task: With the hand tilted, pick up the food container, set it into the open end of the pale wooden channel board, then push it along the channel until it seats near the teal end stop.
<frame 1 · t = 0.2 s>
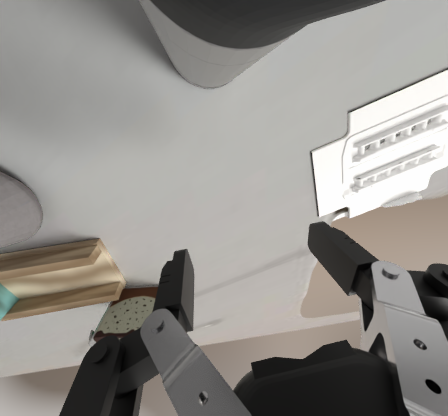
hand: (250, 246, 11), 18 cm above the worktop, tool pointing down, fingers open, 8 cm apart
channel board: (58, 271, 32), on the worktop
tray: (388, 154, 30), on the worktop
food container: (144, 294, 39), on the worktop
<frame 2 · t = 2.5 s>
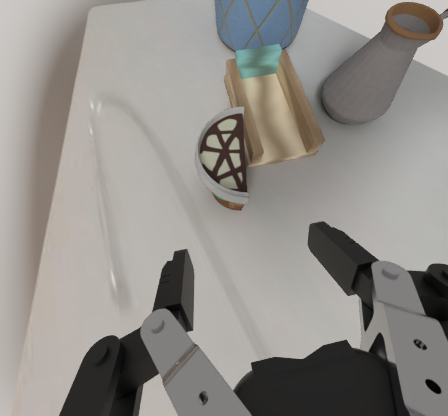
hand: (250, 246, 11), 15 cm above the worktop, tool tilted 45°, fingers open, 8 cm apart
channel board: (266, 115, 33), on the worktop
planter: (256, 33, 40), on the worktop
food container: (221, 184, 29), on the worktop
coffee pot: (364, 98, 34), on the worktop
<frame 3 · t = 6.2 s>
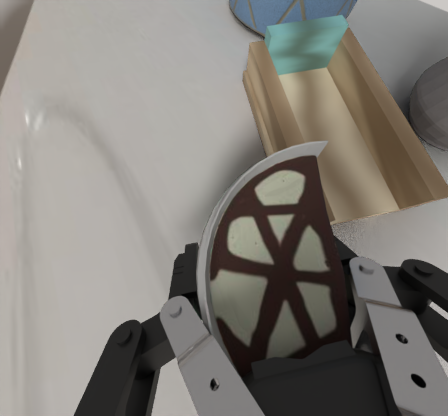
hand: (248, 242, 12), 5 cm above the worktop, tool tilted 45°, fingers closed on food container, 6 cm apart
channel board: (314, 136, 20), on the worktop
planter: (286, 9, 27), on the worktop
food container: (244, 265, 16), on the worktop, touching gripper
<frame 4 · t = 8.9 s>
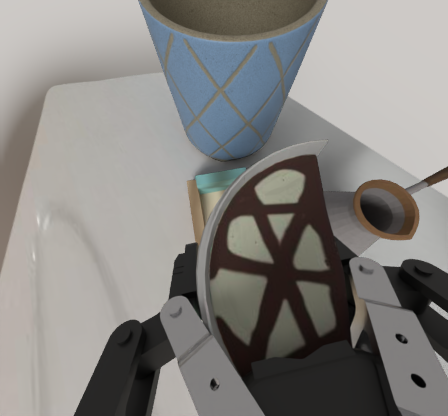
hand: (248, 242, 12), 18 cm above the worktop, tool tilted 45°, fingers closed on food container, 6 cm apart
channel board: (232, 238, 30), on the worktop
planter: (228, 125, 36), on the worktop
food container: (244, 265, 16), point 13 cm above the worktop, touching gripper
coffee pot: (342, 216, 31), on the worktop
when the fingers open (7 cm above the worktop, at t = 11.7 s): food container stays where it is, resting on channel board.
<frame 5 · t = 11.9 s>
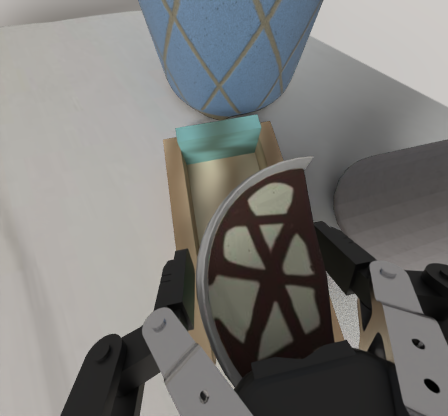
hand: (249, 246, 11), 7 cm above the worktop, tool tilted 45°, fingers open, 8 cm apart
channel board: (236, 231, 19), on the worktop
planter: (228, 74, 26), on the worktop
food container: (241, 267, 17), point 1 cm above the worktop, touching channel board
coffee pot: (405, 197, 20), on the worktop
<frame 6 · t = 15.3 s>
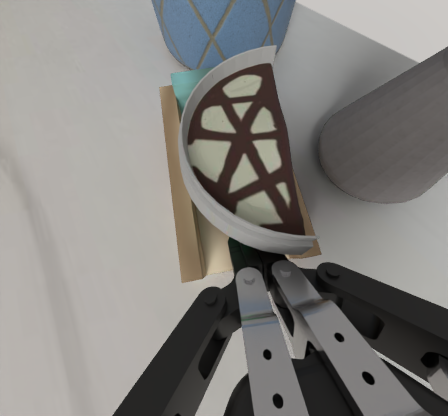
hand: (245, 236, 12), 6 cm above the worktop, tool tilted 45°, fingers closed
channel board: (227, 177, 20), on the worktop
planter: (224, 40, 27), on the worktop
food container: (231, 199, 18), point 1 cm above the worktop, touching gripper
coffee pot: (388, 149, 21), on the worktop
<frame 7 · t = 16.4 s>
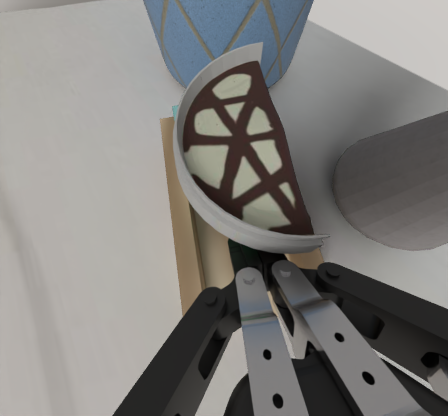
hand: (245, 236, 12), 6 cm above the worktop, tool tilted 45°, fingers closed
channel board: (233, 213, 19), on the worktop
planter: (227, 59, 25), on the worktop
food container: (227, 200, 18), point 1 cm above the worktop, touching channel board, gripper
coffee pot: (405, 180, 20), on the worktop
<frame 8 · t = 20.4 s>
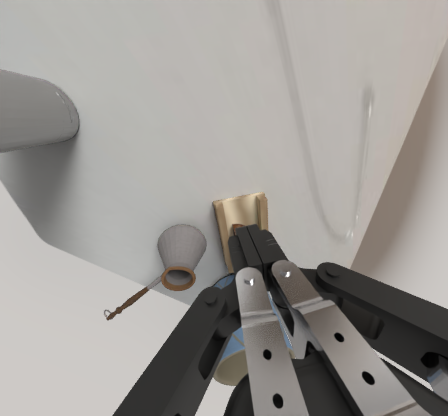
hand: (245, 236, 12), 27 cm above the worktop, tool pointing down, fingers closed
channel board: (242, 230, 46), on the worktop
planter: (236, 289, 57), on the worktop
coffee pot: (166, 245, 45), on the worktop
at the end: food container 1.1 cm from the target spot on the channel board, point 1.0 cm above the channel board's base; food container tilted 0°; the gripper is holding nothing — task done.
